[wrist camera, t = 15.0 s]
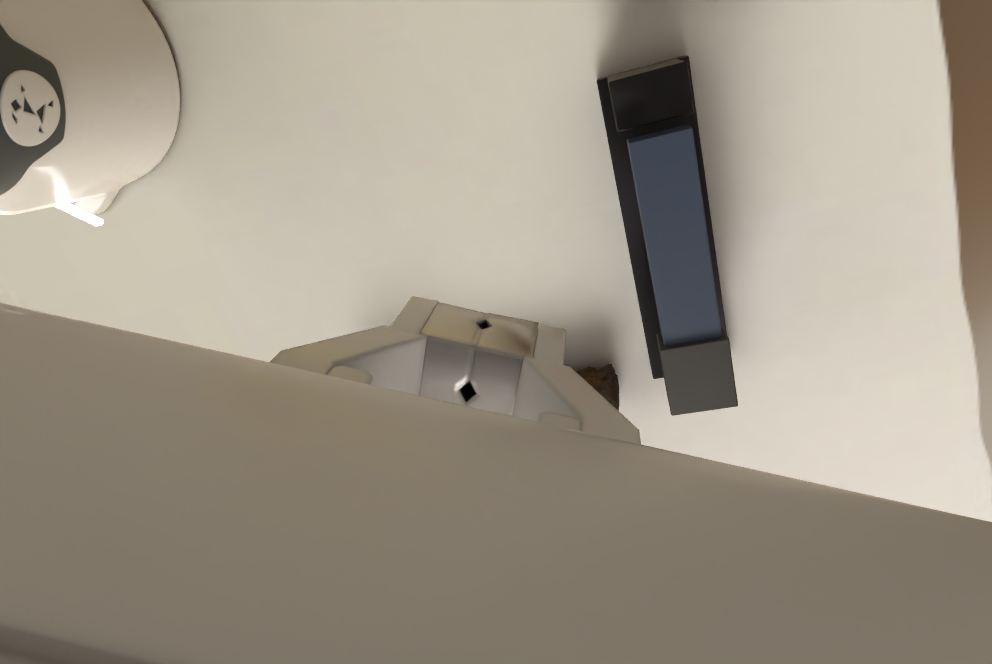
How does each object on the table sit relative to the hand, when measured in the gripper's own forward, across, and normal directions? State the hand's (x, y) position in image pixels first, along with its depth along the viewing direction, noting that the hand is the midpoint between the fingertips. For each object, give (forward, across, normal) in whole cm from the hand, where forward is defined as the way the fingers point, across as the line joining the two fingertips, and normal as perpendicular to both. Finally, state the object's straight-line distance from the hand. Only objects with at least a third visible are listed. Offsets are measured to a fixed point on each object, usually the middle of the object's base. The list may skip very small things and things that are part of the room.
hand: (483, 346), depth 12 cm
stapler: (+30, -8, +4) cm, 32 cm away
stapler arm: (+25, -8, +5) cm, 27 cm away
